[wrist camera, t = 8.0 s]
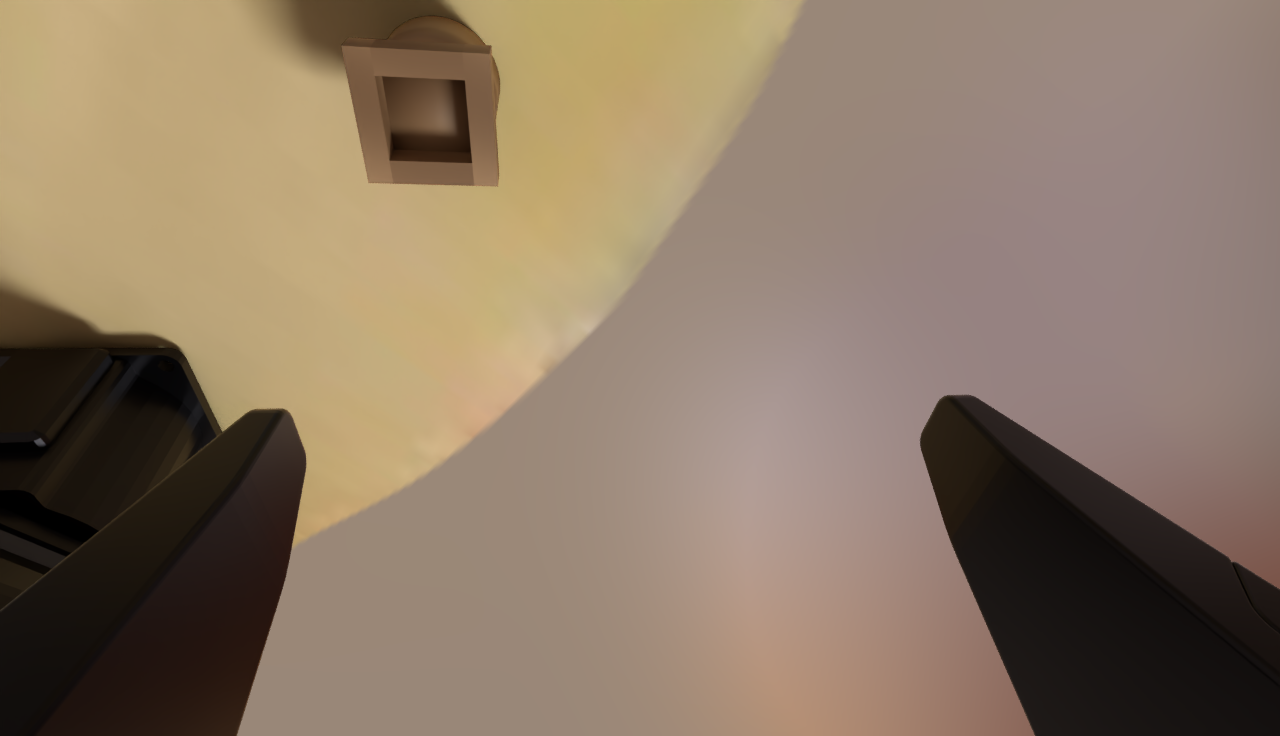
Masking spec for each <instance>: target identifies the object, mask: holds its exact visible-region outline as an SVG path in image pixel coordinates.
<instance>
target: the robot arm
mask: <svg viewBox="0 0 1280 736" xmlns="http://www.w3.org/2000/svg"><path fill="white" fill-rule="evenodd" d="M165 361H168V362H170V363H172V364H169V363H167V362H165ZM920 446H921V451H922V454H923V457H924V460H925V463H926V467H927V470H928V473H929V476H930V480H931V483H932V486H933V489H934V492H935V495H936V498H937V502H938V505H939V508H940V511H941V514H942V517H943V521H944V524H945V527H946V530H947V532H948V535H949V538H950V541H951V543H952V545H953V548H954V551H955V553H956V556H957V558H958V560H959V563H960V565H961V567H962V569H963V572H964V574H965V576H966V579H967V581H968V583H969V586H970V588H971V590H972V592H973V595H974V597H975V599H976V602H977V604H978V606H979V609H980V611H981V613H982V615H983V617H984V620H985V622H986V625H987V627H988V629H989V631H990V634H991V636H992V638H993V641H994V643H995V645H996V647H997V650H998V652H999V654H1000V656H1001V659H1002V661H1003V663H1004V666H1005V668H1006V670H1007V673H1008V675H1009V677H1010V679H1011V682H1012V684H1013V686H1014V689H1015V691H1016V693H1017V696H1018V698H1019V700H1020V702H1021V705H1022V707H1023V709H1024V712H1025V714H1026V716H1027V719H1028V721H1029V723H1030V725H1031V728H1032V730H1033V732H1034V735H1035V736H1280V589H1278V588H1277V587H1275V586H1274V585H1272V584H1270V583H1268V582H1267V581H1265V580H1264V579H1262V578H1261V577H1259V576H1258V575H1256V574H1255V573H1253V572H1251V571H1250V570H1248V569H1247V568H1245V567H1243V566H1242V565H1240V564H1239V563H1237V562H1231V560H1230V559H1229V557H1227V556H1226V555H1224V554H1223V553H1221V552H1220V551H1218V550H1216V549H1215V548H1213V547H1212V546H1210V545H1209V544H1207V543H1205V542H1204V541H1202V540H1201V539H1199V538H1197V537H1196V536H1194V535H1193V534H1191V533H1190V532H1188V531H1186V530H1185V529H1183V528H1182V527H1180V526H1178V525H1177V524H1175V523H1173V522H1172V521H1171V520H1169V519H1167V518H1166V517H1164V516H1163V515H1161V514H1160V513H1158V512H1156V511H1155V510H1153V509H1152V508H1150V507H1148V506H1147V505H1145V504H1144V503H1142V502H1141V501H1139V500H1137V499H1136V498H1134V497H1133V496H1131V495H1130V494H1128V493H1126V492H1125V491H1123V490H1122V489H1120V488H1118V487H1117V486H1115V485H1114V484H1112V483H1111V482H1109V481H1107V480H1106V479H1104V478H1103V477H1101V476H1099V475H1098V474H1096V473H1094V472H1093V471H1091V470H1090V469H1088V468H1087V467H1085V466H1084V465H1082V464H1080V463H1079V462H1077V461H1076V460H1074V459H1072V458H1071V457H1069V456H1068V455H1066V454H1065V453H1063V452H1061V451H1060V450H1058V449H1057V448H1055V447H1054V446H1052V445H1050V444H1049V443H1047V442H1046V441H1044V440H1042V439H1041V438H1039V437H1038V436H1036V435H1034V434H1033V433H1032V432H1030V431H1028V430H1027V429H1025V428H1024V427H1022V426H1020V425H1019V424H1017V423H1016V422H1014V421H1013V420H1011V419H1009V418H1008V417H1006V416H1005V415H1003V414H1001V413H1000V412H998V411H997V410H995V409H994V408H992V407H990V406H989V405H987V404H986V403H984V402H983V401H981V400H979V399H978V398H976V397H974V396H971V395H947V396H944V397H942V398H941V399H940V400H939V401H938V403H937V405H936V407H935V408H934V410H933V412H932V414H931V416H930V418H929V420H928V422H927V423H926V425H925V427H924V429H923V431H922V433H921V438H920ZM305 472H306V453H305V450H304V447H303V444H302V442H301V439H300V436H299V434H298V431H297V428H296V426H295V423H294V420H293V418H292V416H291V414H290V413H289V412H288V411H287V410H285V409H254V410H251V411H249V412H247V413H246V414H245V415H243V416H242V417H241V418H240V419H238V420H237V421H236V422H235V423H233V424H232V425H231V426H230V427H228V428H227V429H226V430H225V431H223V432H222V431H221V429H220V427H219V424H218V422H217V420H216V418H215V416H214V414H213V412H212V410H211V408H210V406H209V404H208V402H207V400H206V398H205V396H204V394H203V392H202V390H201V387H200V385H199V383H198V381H197V379H196V377H195V375H194V373H193V371H192V369H191V367H190V365H189V363H188V361H187V359H186V357H185V356H184V355H183V354H182V353H181V352H179V351H177V350H175V349H172V348H57V349H0V736H237V733H238V730H239V727H240V724H241V721H242V717H243V714H244V711H245V708H246V705H247V701H248V698H249V695H250V692H251V688H252V685H253V682H254V679H255V676H256V673H257V669H258V666H259V663H260V660H261V657H262V653H263V650H264V647H265V644H266V640H267V637H268V634H269V631H270V628H271V625H272V621H273V618H274V615H275V612H276V608H277V605H278V602H279V599H280V596H281V592H282V589H283V585H284V581H285V578H286V573H287V569H288V564H289V560H290V554H291V549H292V543H293V538H294V532H295V527H296V521H297V516H298V510H299V505H300V499H301V494H302V488H303V483H304V477H305Z"/></svg>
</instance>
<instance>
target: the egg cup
mask: <svg viewBox="0 0 1280 736" xmlns="http://www.w3.org/2000/svg"><path fill="white" fill-rule="evenodd" d="M341 48H342V53H343V58H344V63H345V68H346V73H347V78H348V82H349V87H350V92H351V97H352V102H353V107H354V112H355V117H356V122H357V127H358V132H359V137H360V142H361V147H362V152H363V157H364V162H365V167H366V172H367V177H368V182H369V183H390V184H428V185H466V186H498V181H499V164H498V148H497V131H496V115H497V108H498V101H499V94H500V78H499V73H498V69H497V66H496V63H495V60H494V58H493V56H492V50H491V46H489V45H485V44H484V42H483V41H482V40H481V39H480V38H479V37H478V36H477V35H476V34H475V33H474V32H473V31H471V30H470V29H468V28H467V27H466V26H464V25H462V24H460V23H458V22H456V21H454V20H451V19H448V18H444V17H438V16H423V17H417V18H414V19H411V20H409V21H407V22H405V23H403V24H402V25H400V26H399V27H397V28H396V29H395V30H394V31H393V32H392V34H391V35H390V36H389V38H388V39H387V40H384V39H367V38H349V37H348V38H347V39H346V41H345V42H344V43H343V44H342V45H341Z"/></svg>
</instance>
